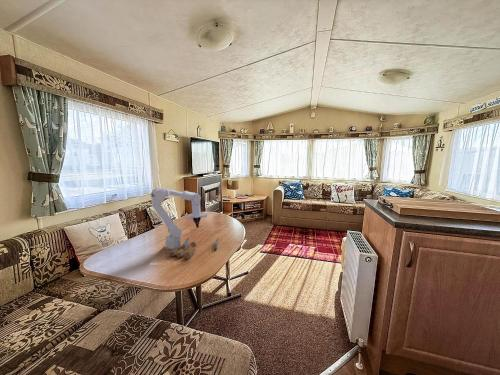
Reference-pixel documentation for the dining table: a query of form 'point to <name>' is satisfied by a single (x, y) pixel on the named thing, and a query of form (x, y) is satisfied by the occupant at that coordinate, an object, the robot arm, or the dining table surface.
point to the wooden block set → (181, 251)
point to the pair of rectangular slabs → (188, 244)
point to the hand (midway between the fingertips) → (197, 227)
